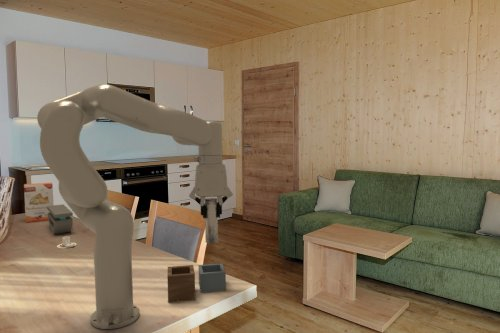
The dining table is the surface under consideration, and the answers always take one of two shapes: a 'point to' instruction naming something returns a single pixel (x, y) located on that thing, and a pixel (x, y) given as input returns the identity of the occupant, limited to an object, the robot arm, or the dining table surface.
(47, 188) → the cracker box
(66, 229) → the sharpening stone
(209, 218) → the steel axle
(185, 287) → the brown wooden socket block
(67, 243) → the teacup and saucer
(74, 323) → the dining table surface
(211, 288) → the blue-grey square holder
